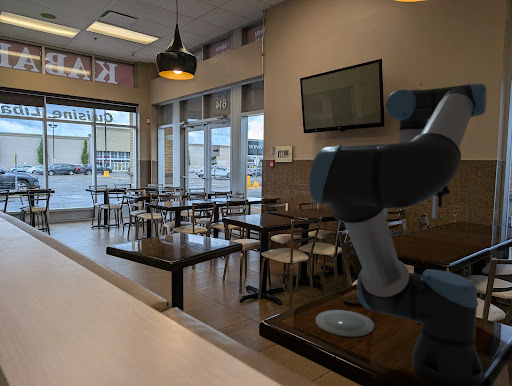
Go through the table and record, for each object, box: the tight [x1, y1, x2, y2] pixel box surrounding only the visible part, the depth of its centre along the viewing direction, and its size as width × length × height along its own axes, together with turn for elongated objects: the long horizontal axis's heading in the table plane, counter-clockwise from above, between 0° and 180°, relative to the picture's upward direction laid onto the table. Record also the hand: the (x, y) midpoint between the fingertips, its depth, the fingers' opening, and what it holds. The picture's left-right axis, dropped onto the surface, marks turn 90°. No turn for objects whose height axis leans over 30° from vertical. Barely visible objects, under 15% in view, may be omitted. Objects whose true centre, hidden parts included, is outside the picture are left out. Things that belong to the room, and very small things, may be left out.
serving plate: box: [315, 309, 375, 338], centre depth 112 cm, size 18×18×1 cm
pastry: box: [342, 289, 362, 305], centre depth 130 cm, size 9×7×4 cm
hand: (409, 217), depth 104 cm, fingers open, 13 cm apart
